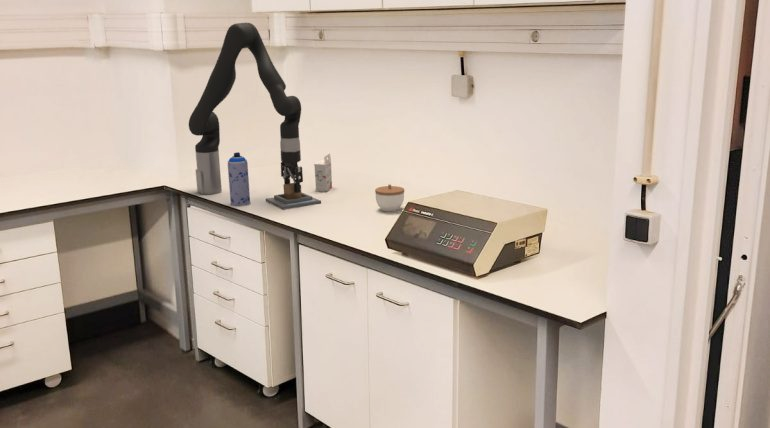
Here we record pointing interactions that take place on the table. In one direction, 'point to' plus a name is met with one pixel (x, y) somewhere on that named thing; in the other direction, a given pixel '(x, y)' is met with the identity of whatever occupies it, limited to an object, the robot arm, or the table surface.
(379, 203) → the lidded jar
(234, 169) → the aerosol can
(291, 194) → the block
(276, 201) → the holder
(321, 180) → the ink cartridge box
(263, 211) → the table surface
